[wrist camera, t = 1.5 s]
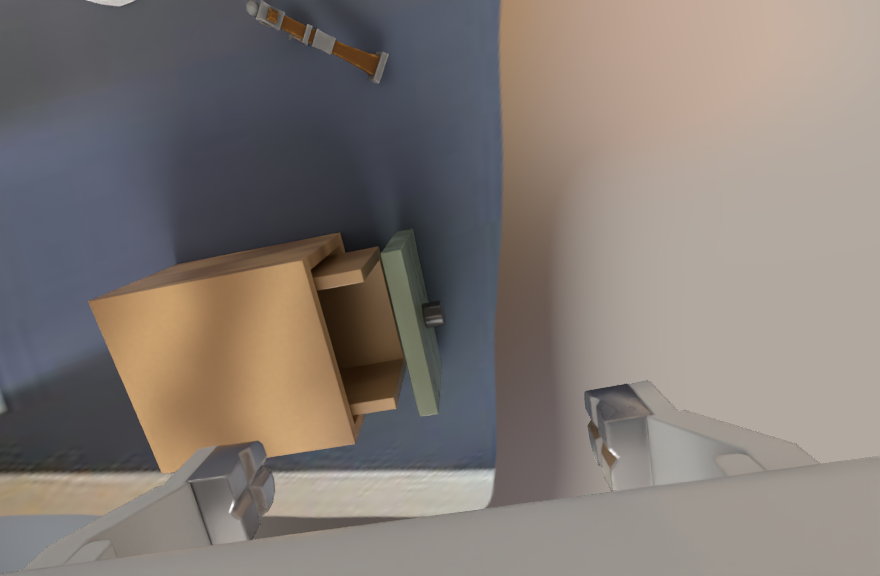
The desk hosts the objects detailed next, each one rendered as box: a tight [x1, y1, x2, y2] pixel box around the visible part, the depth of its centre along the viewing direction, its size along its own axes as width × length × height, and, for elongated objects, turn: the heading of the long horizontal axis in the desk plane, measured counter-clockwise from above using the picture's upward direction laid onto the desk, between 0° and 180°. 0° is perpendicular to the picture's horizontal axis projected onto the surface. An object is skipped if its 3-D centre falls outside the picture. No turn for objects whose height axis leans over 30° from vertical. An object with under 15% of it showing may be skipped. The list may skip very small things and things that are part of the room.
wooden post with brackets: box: [246, 0, 389, 83], centre depth 29 cm, size 2×8×4 cm, turn 68°
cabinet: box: [89, 233, 366, 473], centre depth 32 cm, size 13×12×9 cm
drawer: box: [311, 229, 445, 417], centre depth 31 cm, size 13×10×7 cm
